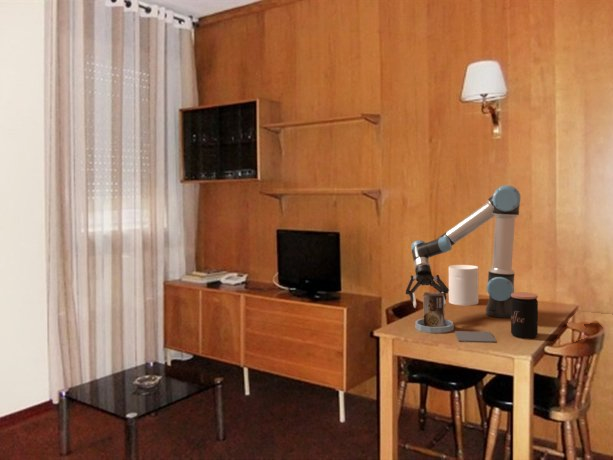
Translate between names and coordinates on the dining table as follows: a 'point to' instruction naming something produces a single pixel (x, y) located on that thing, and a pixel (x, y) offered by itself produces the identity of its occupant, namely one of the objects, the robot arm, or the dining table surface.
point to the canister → (463, 284)
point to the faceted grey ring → (434, 329)
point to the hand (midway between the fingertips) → (429, 305)
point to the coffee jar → (524, 315)
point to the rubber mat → (474, 336)
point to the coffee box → (433, 309)
